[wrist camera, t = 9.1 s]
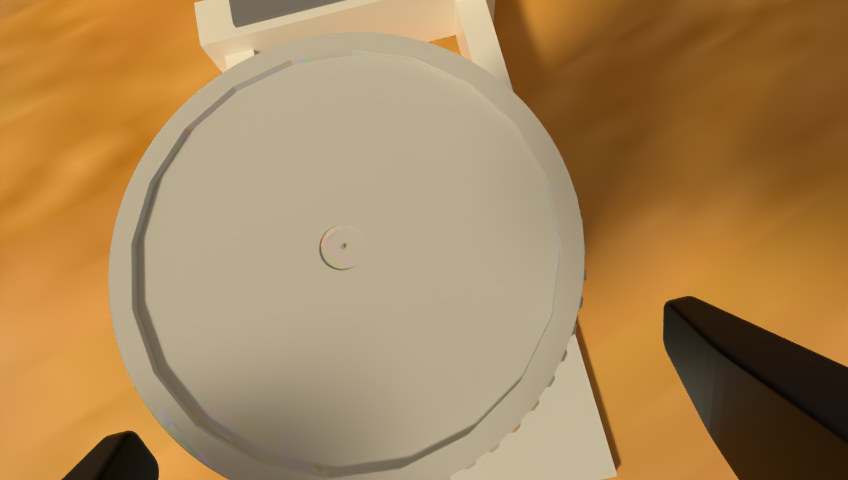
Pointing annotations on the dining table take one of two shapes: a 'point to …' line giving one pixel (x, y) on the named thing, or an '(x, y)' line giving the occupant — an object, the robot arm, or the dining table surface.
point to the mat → (553, 435)
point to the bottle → (347, 264)
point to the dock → (346, 25)
